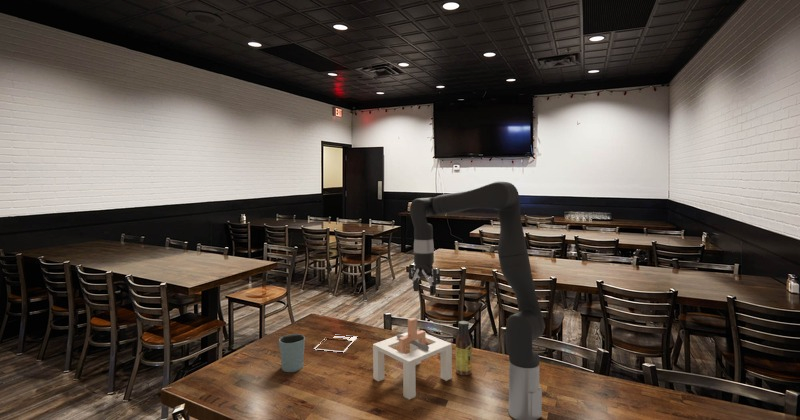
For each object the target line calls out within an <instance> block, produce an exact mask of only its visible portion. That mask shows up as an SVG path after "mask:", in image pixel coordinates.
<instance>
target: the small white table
mask: <svg viewBox="0 0 800 420" xmlns="http://www.w3.org/2000/svg"><path fill="white" fill-rule="evenodd" d="M418 331H419V330H418V329H417V332H418ZM406 335H408V331H405V332H404V333H401V334H400V333H397V334H396V335H395V336H392V337H390V338H386V339H384V340H380V341H378V342H375V343H373V344H372V359H373V360H372V364H373V365H372V366H373V367H372V368H373V369H372V372H373V379H374V380H375V381H377V382H378V383H379V382H381V381H383V380H385V379H386V378H385V376H386V375H385V355H386V356H388V357H390V358H392V359H394V360H396V361H398V362H399V361H400V362H402V363H403V370H402V379H403V381H402V382H403V384H402V385H403V386H402V387H403V388H402V389H403V391H402V393H403V397H404V398H405V399H407V400H412V399H414V398H416V397H417V396H416V382H417V381H416V366H418V365H420V364H421V362H422V361H421V360H424V359H426V358H429V359H430V357H433V356H435V355H438V354H439V355H440V360H439V361H440V379H441V380H444V381H445V382H447V381H449V380H451V379H452V378H453V372H452V371H453V370H452V369H453V363H452V362H453V359H452V358H453V357H452V356H453V352H452V351H453V350H452V347H453V344H452V343H451V342H449V341H446V340H443V339H440V338H439V337H435V336H433V335H430V334H428V333H426V342H427V343H428V345H427V344H426V345H424V344H422V343H420V342H418V339H417V340H415V341H412V342H409V343H408V344H409V352H408V353H407V354H404V353H402V352H399V350H397V349H395V348H396V347H399V338H400V337H403V336H406ZM418 347H420V349H418Z"/></svg>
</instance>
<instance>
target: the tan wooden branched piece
mask: <svg viewBox="0 0 800 420" xmlns="http://www.w3.org/2000/svg"><path fill="white" fill-rule="evenodd" d="M417 330H418V318H416V317H411V318H407V332H408V335H406V336H403V337H400V338H399V346H398V351H399V352H402V353H404V354H408V353H407V349H408V348H407V344H410V343H409V342H412V341H415V340H417V339H418V342H420V343H422V344H424V345H427V344H426V334H427V333H426V330H423V329H420V330H418V332H417ZM418 349H420V347H418ZM428 361H430V357H429V358H426V359H424V360H421V361H420V362H421V363H425V362H428ZM394 364H395V365H394V367H396V368H399V369H400V370H402V371H403V363H402V362H400V361H398V362H396V363H394Z"/></svg>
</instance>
